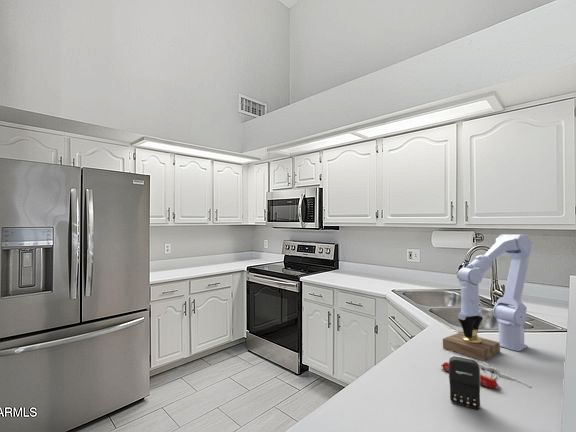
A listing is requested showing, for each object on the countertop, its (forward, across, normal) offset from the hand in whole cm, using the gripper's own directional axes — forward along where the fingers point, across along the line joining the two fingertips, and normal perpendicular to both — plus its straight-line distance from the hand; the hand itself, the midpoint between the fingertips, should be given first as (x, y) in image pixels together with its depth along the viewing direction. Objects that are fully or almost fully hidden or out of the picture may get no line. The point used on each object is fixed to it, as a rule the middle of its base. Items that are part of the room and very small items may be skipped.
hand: (470, 336), depth 113 cm
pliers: (+6, -16, -14) cm, 22 cm away
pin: (+5, 0, 0) cm, 5 cm away
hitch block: (+5, 0, 0) cm, 5 cm away
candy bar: (+6, -25, -10) cm, 27 cm away
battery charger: (+5, -41, -16) cm, 44 cm away
